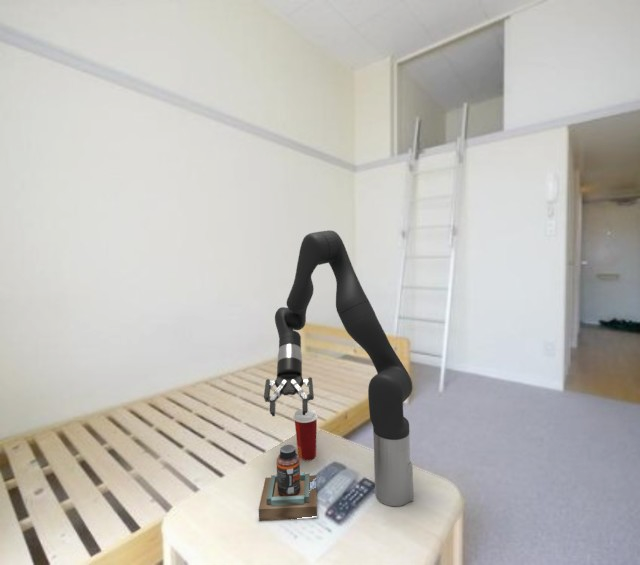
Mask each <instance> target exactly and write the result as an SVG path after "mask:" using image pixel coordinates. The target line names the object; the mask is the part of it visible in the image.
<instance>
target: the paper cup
mask: <svg viewBox="0 0 640 565" xmlns="http://www.w3.org/2000/svg"><path fill="white" fill-rule="evenodd" d="M318 417H319V416H318V414H317V411H316V410H314V409H312V408H308V412H307V413H305V415H303V412H302V408H300V409H298V410H296V411H295V413H294V415H293V420H294V426H295V436H296V446H297V454H298V456H299V458H300V460H302V461H312V460H313V459H315V457H316V456H317V427H318V426H317V420H318Z"/></svg>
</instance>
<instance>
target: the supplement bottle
mask: <svg viewBox="0 0 640 565" xmlns="http://www.w3.org/2000/svg"><path fill="white" fill-rule="evenodd" d="M300 460H301V459H300V458H299V455H298V452H297V450H296V446H295V445H293V444H284V445H282V446H281V447H280V449H279V454H278V455H277V457H276V474H277V487H278V493H279V494H280V495H282V496H294V495H296V494H297V493H298V492H299V491H300V473H301V467H300V466H301V465H300V463H301V462H300Z"/></svg>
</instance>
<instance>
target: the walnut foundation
mask: <svg viewBox="0 0 640 565" xmlns="http://www.w3.org/2000/svg"><path fill="white" fill-rule="evenodd" d="M310 474H311V473H306V472H304V471H303V472H300V491H299V492H298V493H297V494H296V495H294V496H282V495H280V494H279V493H278V487H277V473H275V474H273V475H272V474H271V475H270V477H265V478H264V479H265V480H264V482H263V488H262V491H261V492H262V493H261V496H260V501H259V504H258V505H259V506H258V522H270V521H271V522H272V521H286V520H287V521H288V520H291V519H292V520H298V519H297V518H302V517H312V516H317V517H318V493H317V492H318V491H317V492H316V488H314V489H312V490H311V491H309V490H310V482H312V481H313V479H315V478H316V479H317V475H313V474H312V475H310ZM309 492H310V493H309Z"/></svg>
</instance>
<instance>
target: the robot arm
mask: <svg viewBox="0 0 640 565" xmlns="http://www.w3.org/2000/svg"><path fill="white" fill-rule="evenodd" d="M300 244H301V245H300V246H299V247H300V248H299V252H298V253H299V254H298V258H297V265H296V268H295V270H296V271H295V277H294V280H293V284H292V287H291V289H290V291H289V293H288V297H287V299H286V306H287V307H286V306H285V307H284V306H283V307H282V306H281V307H280V308H277V310H276V312H275V314H274V322H275V327H276V330H277V334H278V339H279V340H278V351H277V352H278V353H277V368H276V379H275V380H270V379H269V378H267V379H266V380H265V385H264V392H263V400H264V402H265V403H269V414H270V415H271V416H272V417H276V405H277V404H276V402H277V401H278V400H279V399H280V398H281V397H282V395H283V396H289V395H291V396H295V395H296V394H297V395H298V397H299V398H300V399H301V400H302V402H301V403H302V408H301V409H302V412H303V415H305V413H307V412H308V409H309V406H308V403H309V401H314V398H315V397H314V396H315V394H314V386H313V378H312V376H309V377H308V378H306V379H303V363H302V362H303V359H302V358H303V357H302V341H301V340H302V337H301V334H300V333H299V332H298V331H300V330H302V329H303V328H304V327H305V325H306V321H307V309H308V306H309V304H310V302H311V300H312V298H313V295H314V288H315V287H314V283H313V280H312V274H313V273H314V271H315V269H316V268H317V267H318V266H319V265H326V264H329V267H330V268H331V270H332V272H333V275H334V278H335V281H336V282H335V284H336V289H335V290H336V291H335V293H336V294H335V310H336V312H337V315H338V317H339V318H340V321H341V323H342V325H343V328H344V329H345V331H346V332H347V334H348V335H349V336H350V337H351V339H353V341H355V343H357V344H358V345H359V346H360V347H361V348H362V350H364V351H365V353H366V354H367V355H368V357H369V359H370V360H371V361H372V364H373V366H374V368H375V370H376V374H375V375H374V376H372V378H371V379H370V381H369V383H368V390H367V392H368V395H367V398H368V409H369V410H368V411H369V418H370V422H371V424H372V429H373V430H372V431H373V432H372V433H373V434H372V435H373V462H374V463H373V464H374V466H373V467H374V493H375V494H376V495H375V494H374V495H375V497H376V499H377V500H378V501H379V502H380V503H382V504H384V505H386V506H389V507H402V506H404V505H406V504H408V503H409V502H414V479H413V478H414V471H413V470H414V469H413V468H414V467H413V464H412V462H411V444H410V443H411V442H410V440H411V439H410V438H411V437H410V422H409V420H408V419H407V417H405V416H404V402H405V401H406V400H407V399H409V397H410V396H411V394H412V392H413V380H412V378H411V376H410V374H409V372H408V371H407V369H406V367H405V365H404V364H403V363H402V361H401V359H400V357H399V356H398V355H397V353H396V352H395V351H396V350H394V348H393V346H392V345H391V343H390V340H389V338H388V336H387V334H386V333H385V330H384V329H383V327H382V325H381V323H380V321H379V319H378V317H377V315H376V313H375V310H374V307H373V306H372V304H371V301H369V298H368V297H367V294H366V293H365V291H364V289H363V287H362V284H361V283H360V280H359V278H358V276H357V274H356V271H355V269H354V266H353V265H352V261H351V259H350V257H349V253H348V251H347V249H346V247H345V244H344V241H343V240H342V237H341V236H340V235H339V233H337V232H336V231H335V230H323V231H315V232H311V233H308V234H306V235H305V236H304V237H303V239H302V241H301V243H300ZM303 385H305V386H306V387H307V388H308V394H306V393H305V392H304V390H303V389H302V387H303ZM274 386H275V387H276V389H275V390H274V392H273V393H272V395H271V396H270V394H271V389H273V387H274Z"/></svg>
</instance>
